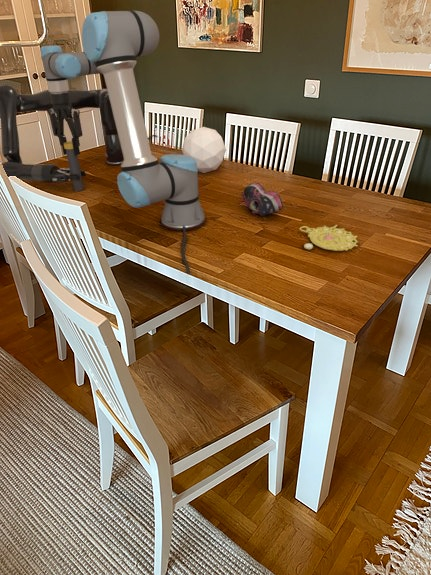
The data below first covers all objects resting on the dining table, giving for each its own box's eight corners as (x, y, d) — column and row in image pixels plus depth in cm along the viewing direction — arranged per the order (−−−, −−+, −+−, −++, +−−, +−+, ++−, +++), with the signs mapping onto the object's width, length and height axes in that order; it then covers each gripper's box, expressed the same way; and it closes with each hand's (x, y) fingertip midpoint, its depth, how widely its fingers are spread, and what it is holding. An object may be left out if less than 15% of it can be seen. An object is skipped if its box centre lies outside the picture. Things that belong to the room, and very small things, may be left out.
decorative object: (343, 255, 128) (285, 234, 139) (342, 262, 130) (284, 241, 140) (372, 230, 142) (317, 213, 152) (371, 237, 143) (316, 219, 153)
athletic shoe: (254, 181, 170) (227, 189, 167) (283, 176, 151) (253, 185, 147) (260, 210, 173) (234, 218, 170) (290, 209, 154) (261, 219, 150)
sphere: (210, 188, 203) (207, 161, 184) (176, 167, 208) (170, 139, 189) (234, 159, 208) (234, 131, 189) (200, 139, 213) (197, 110, 194)
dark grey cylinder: (71, 190, 187) (62, 145, 177) (78, 187, 190) (69, 142, 180) (79, 191, 185) (69, 146, 175) (86, 188, 188) (77, 143, 178)
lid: (70, 150, 175) (69, 145, 174) (61, 148, 177) (60, 143, 176) (79, 147, 179) (78, 142, 178) (70, 145, 181) (69, 140, 180)
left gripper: (33, 169, 179) (71, 171, 176) (52, 159, 191) (88, 161, 187) (38, 187, 183) (75, 190, 180) (56, 176, 195) (91, 178, 191)
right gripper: (85, 91, 167) (95, 153, 180) (46, 90, 172) (59, 150, 185) (73, 94, 161) (85, 158, 174) (33, 93, 166) (48, 155, 179)
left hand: (82, 175), depth 184 cm, fingers closed on dark grey cylinder, 4 cm apart
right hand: (71, 154), depth 179 cm, fingers closed on lid, 5 cm apart
